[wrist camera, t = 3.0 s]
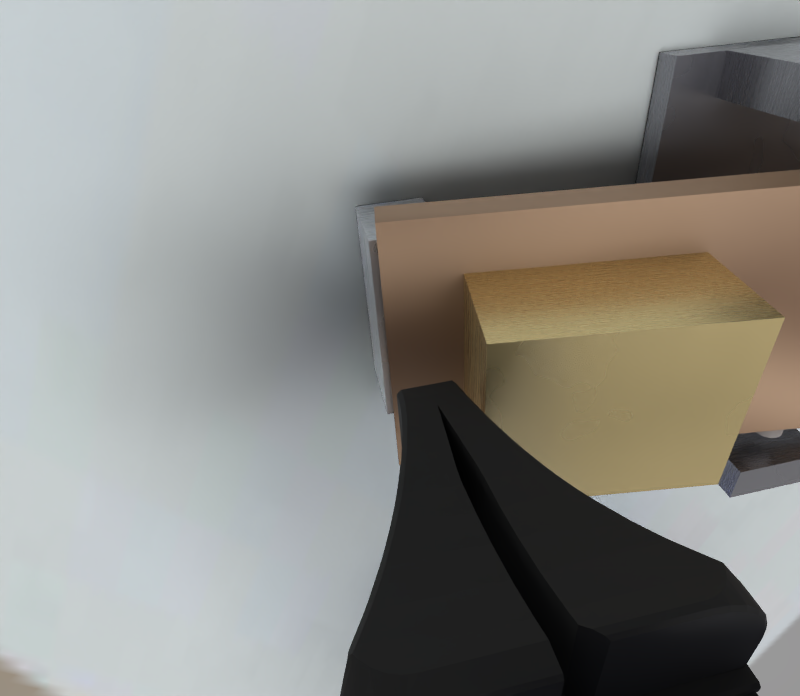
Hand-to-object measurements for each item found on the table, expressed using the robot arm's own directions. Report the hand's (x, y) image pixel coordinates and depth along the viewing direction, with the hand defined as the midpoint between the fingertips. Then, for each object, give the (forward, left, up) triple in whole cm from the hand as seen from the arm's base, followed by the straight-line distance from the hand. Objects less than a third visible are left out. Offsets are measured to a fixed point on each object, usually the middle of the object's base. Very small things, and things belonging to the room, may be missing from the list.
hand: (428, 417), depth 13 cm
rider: (0, -4, -2) cm, 5 cm away
